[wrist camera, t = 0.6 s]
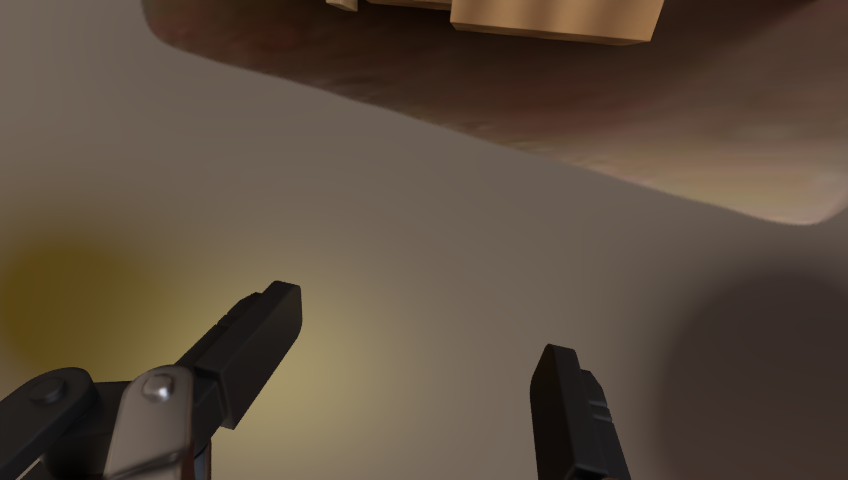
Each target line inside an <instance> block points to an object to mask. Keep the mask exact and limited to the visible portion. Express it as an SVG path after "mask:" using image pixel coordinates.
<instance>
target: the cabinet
mask: <svg viewBox="0 0 848 480" xmlns="http://www.w3.org/2000/svg"><path fill="white" fill-rule="evenodd" d="M663 2H664V0H452V6H451V15H450V23H451V24H452V25H453V26H454V28H455V29H456V30H463V31H473V32H484V33H494V34H504V35H514V36H525V37H535V38H545V39H555V40H566V41H576V42H586V43H596V44H607V45H617V46H623V45H629V44H635V43H642V42H648V41H650V40H651V37H652V34H653V31H654V28H655V25H656V22H657V20H658V17H659V14H660V11H661V8H662V5H663Z"/></svg>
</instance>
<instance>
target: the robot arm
mask: <svg viewBox="0 0 848 480" xmlns="http://www.w3.org/2000/svg"><path fill="white" fill-rule="evenodd" d="M301 326H302V302H301V288H300V286H298V285H295V284H290V283H286V282H282V281H274V282H273V283H271V285H270V286H269V287H268V288H267V289H266V290H265V291H264V292H263V293H257V292H255V293H253V294H251V295H250V296H247V297H246V298H244V299H242V300H240V301H239V302H238V303H237V304H236V305H235V306H234V307H233V308H231V310H229V312H228V313H227V315H224V316H223V317H222V318H221V319H220V320H219V321H218V323H217V325H214V326H213V327H212V328H211V329H210V330H209V331H208V332H207V333H206V334H205V335H204V336H203V337H202V338H201V339H200V340H199V341H198V342H197V343H196V344H195V345H194V346H193V347H192V348H191V349H189V350H188V351H187V353H185V354H184V355H183V356H182V357H181V358H180V359H179V360H178V361H177V362H176V363H175V364H174V365H164V366H160V367H156V368H153V369H151V370H149V371H147V372H145V373H143V374H141V375H140V376H138V377H137V378H136V379H134V380H133V381H119V382H100V383H99V382H98V383H93V381H92V379H91V377H90V375H89V373H88V372H87V371H86V370H84V369H81V368H75V367H68V368H61V369H57V370H53V371H50V372H47V373H44V374H42V375H39V376H37V377H35V378H33V379H31V380H30V381H28V382H26V383H25V384H23V385H22V386H20V387H19V388H18V389H16V390H15V391H14V392H12V393H11V394H10V395H9V396H7V397H6V398H4V399H3V400H2V401H1V402H0V480H15V479H17V478H18V477H19V476H20V474H22V473H23V472H24V471H25V470H26V469H27V468H28V467H29V466H30V465H31V464H32V463H33V462H34V461H35V460H37V458H39V459H40V461H39V462H38V463H37V464H36V465H35V466H34V467H33V468H32V469H31V470H30V471H29V472H28V473H27V474H26V475H25V476H23V478H22V479H20V480H211V449H212V443H211V437H212V436H213V434H214V433H215V432H216V430H217V429H218V428H219V426H221V427H225V428H228V429H232V430H234V429H235V427H236V426H237V425H238V423H239V422H240V420H241V418H242V417H243V416H244V414H245V413H246V411H247V410H248V409H249V407H250V405H251V404H252V403H253V401H254V400H255V398H256V397H257V396H258V394H259V393H260V391H261V390H262V388H263V387H264V385H265V384H266V383H267V381H268V380H269V378H270V377H271V375H272V374H273V372H274V371H275V369H276V368H277V367H278V365H279V364H280V362H281V361H282V359H283V358H284V356H285V355H286V353H287V352H288V350H289V349H290V348H291V346H292V345H293V343H294V342H295V340H296V339H297V337H298V335H299V333H300V330H301ZM530 403H531V413H532V422H533V433H534V442H535V452H536V461H537V472H538V480H631V477H630V474H629V471H628V468H627V464H626V462H625V458H624V455H623V452H622V449H621V446H620V443H619V439H618V436H617V433H616V430H615V427H614V424H613V423H612V417H611V414H610V411H609V409H608V408H607V402H606V399H605V396H604V392H603V389H602V387H601V386H600V384H599V383H598V382H597V380H596V379H595V377H594V376H593V375H592V373H591V372H590V371H587V370H582V369H580V366H579V362H578V358H577V355H576V352H575V350H573V349H570V348H565V347H561V346H556V345H552V344H547V346H546V347H545V349H544V351H543V354H542V356H541V358H540V360H539V363H538V365H537V368H536V370H535V372H534V374H533V377H532V380H531V385H530Z"/></svg>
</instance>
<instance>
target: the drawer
mask: <svg viewBox="0 0 848 480" xmlns="http://www.w3.org/2000/svg"><path fill="white" fill-rule="evenodd" d="M366 1H368V2H370V3H375V4H386V5H396V6H407V7H418V8H429V9H440V10H451V6H452V0H366ZM326 3H328V4H331V5H333V6H336V7H338V8H341V9H343V10H346V11H356V12H357V0H326Z"/></svg>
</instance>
